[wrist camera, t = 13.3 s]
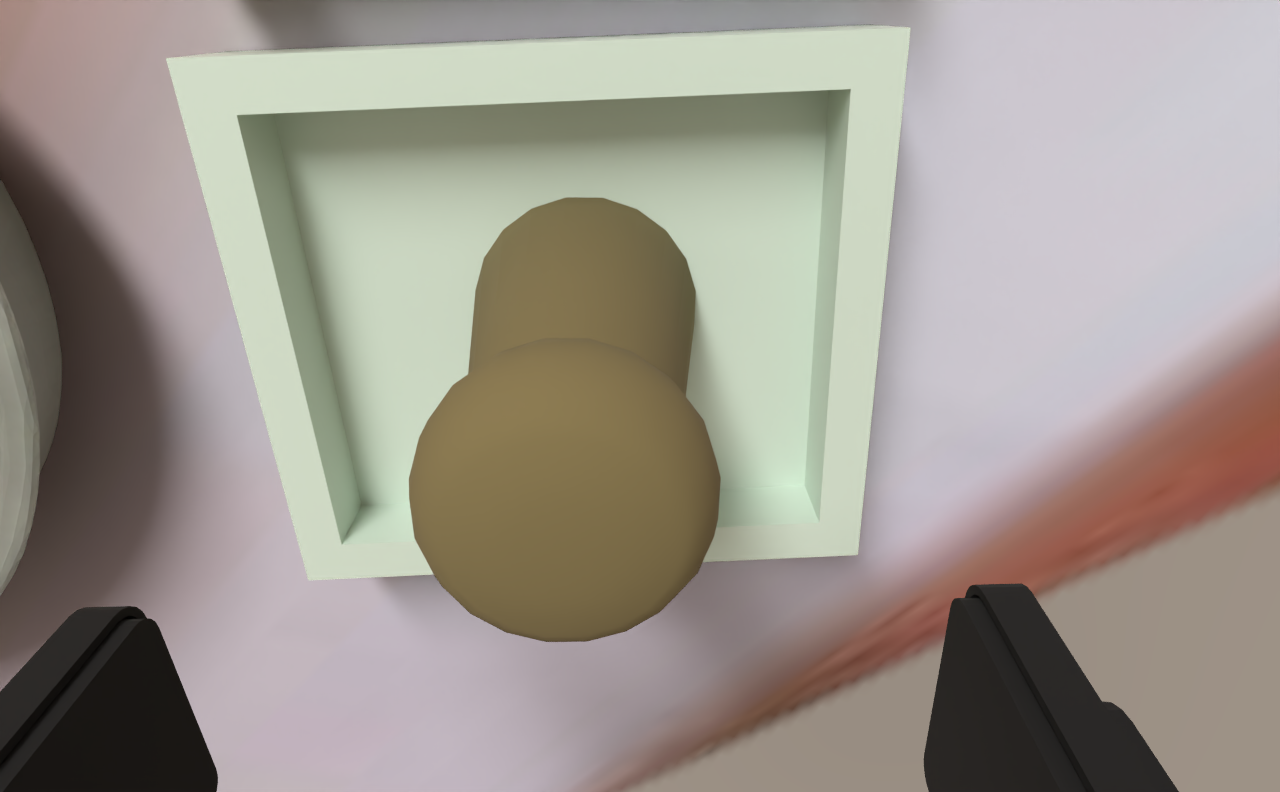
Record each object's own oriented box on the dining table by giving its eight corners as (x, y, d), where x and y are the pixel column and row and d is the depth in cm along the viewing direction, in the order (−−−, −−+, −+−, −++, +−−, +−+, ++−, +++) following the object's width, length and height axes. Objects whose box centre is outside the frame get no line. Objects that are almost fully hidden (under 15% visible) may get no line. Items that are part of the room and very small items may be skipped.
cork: (502, 419, 23) (417, 721, 14) (450, 215, 21) (299, 404, 11) (707, 390, 23) (774, 676, 13) (682, 179, 21) (741, 340, 11)
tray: (871, 24, 20) (910, 27, 17) (833, 498, 26) (857, 555, 23) (227, 51, 20) (166, 58, 17) (340, 520, 26) (308, 580, 23)
